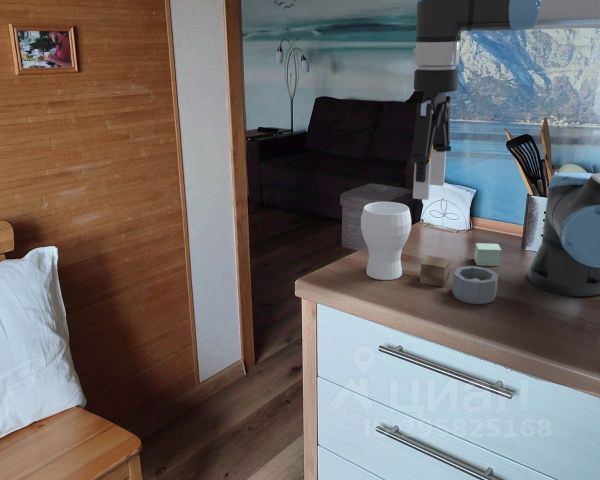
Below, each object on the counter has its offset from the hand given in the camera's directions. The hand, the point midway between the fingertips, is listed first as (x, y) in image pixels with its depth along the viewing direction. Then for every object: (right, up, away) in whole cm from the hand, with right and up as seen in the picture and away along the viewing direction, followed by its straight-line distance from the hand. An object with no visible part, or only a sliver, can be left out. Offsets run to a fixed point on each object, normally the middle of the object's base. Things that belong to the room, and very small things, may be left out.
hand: (429, 191), depth 108 cm
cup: (-6, -17, +19) cm, 26 cm away
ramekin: (+11, -20, +8) cm, 24 cm away
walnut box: (+5, -18, +15) cm, 24 cm away
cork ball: (+11, -18, +7) cm, 22 cm away
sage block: (+19, -14, +24) cm, 33 cm away
